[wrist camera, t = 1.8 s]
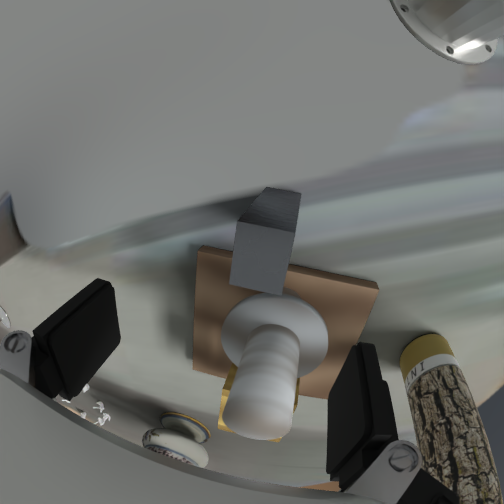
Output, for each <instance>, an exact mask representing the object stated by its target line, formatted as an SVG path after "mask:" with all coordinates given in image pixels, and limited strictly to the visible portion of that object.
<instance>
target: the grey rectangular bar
mask: <svg viewBox="0 0 504 504" xmlns="http://www.w3.org/2000/svg"><path fill="white" fill-rule="evenodd" d="M300 199H301V194H300V193H295V192H290V191H285V190H280V189H275V188H270V187H266V188H265V189H264V190H263V191H262V193H261V194H260V195H259V196H258V197H257V198H256V200H255V201H254V202H253V203H252V204H251V205H250V207H249V208H248V209H247V210H246V211H245V213H244V214H243V215H242V216H241V217H240V218H239V220H238V221H237V227H236V234H235V242H234V249H233V257H232V265H231V273H230V281H229V284H231V285H235V286H239V287H244V288H248V289H252V290H257V291H261V292H266V293H270V294H275V295H279V296H281V295H282V291H283V286H284V282H285V278H286V273H287V269H288V264H289V260H290V255H291V251H292V246H293V242H294V237H295V232H296V226H297V219H298V213H299V206H300Z"/></svg>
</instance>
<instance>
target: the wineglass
mask: <svg viewBox="0 0 504 504" xmlns="http://www.w3.org/2000/svg"><path fill="white" fill-rule="evenodd" d="M0 321H2V322H3V324H4V325H5V326H6V327H8V328H10V327H11V323H10V320H9V318H8V316H7V314H6V313H5V311H4V310H3V308H2V307H1V306H0Z"/></svg>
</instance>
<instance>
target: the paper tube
mask: <svg viewBox="0 0 504 504" xmlns="http://www.w3.org/2000/svg"><path fill="white" fill-rule="evenodd" d="M400 368H401V372H402V376H403V380H404V383H405V388H406V392H407V397H408V401H409V405H410V410H411V414H412V419H413V424H414V429H415V434H416V440H417V445H418V449H419V450H420V452H421V455H422V465H421V468H422V469H424V470H425V471H426V472H427V473H429V474H430V475H431V476H433V477H434V478H435V479H437V480H438V481H439V482H441V483H442V484H443V485H445V486H446V487H447V488H449V489H450V490H452V491H453V492H454V493H455V494H456V496H457V498H458V502H459V504H503V499H502V494H501V489H500V484H499V479H498V475H497V471H496V467H495V463H494V460H493V456H492V452H491V449H490V446H489V442H488V439H487V436H486V433H485V430H484V427H483V424H482V421H481V418H480V416H479V413H478V410H477V407H476V405H475V402H474V400H473V397H472V395H471V392H470V390H469V387H468V385H467V383H466V380H465V378H464V376H463V373H462V371H461V369H460V367H459V364H458V362H457V360H456V358H455V356H454V354H453V352H452V350H451V348H450V346H449V344H448V342H447V340H446V339H445V338H444V337H442V336H440V335H437V334H427V335H423V336H421V337H419V338H417V339H415V340H413V341H412V342H411V343H410V344H409V345H408V346H407V347H406V348H405V349H404V351H403V353H402V355H401V357H400Z"/></svg>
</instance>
